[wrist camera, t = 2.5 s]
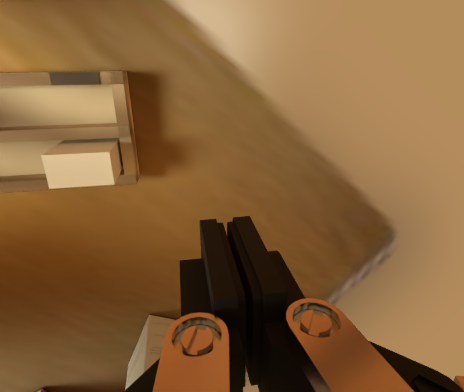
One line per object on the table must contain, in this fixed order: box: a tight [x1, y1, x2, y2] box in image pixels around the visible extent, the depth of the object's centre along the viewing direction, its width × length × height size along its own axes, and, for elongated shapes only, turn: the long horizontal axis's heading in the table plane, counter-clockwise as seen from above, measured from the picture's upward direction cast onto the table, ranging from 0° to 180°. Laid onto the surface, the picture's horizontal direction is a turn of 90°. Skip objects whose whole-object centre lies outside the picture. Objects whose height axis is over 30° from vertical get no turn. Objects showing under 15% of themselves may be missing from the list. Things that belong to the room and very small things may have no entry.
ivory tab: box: [41, 138, 123, 189], centre depth 22 cm, size 2×4×4 cm, turn 90°
